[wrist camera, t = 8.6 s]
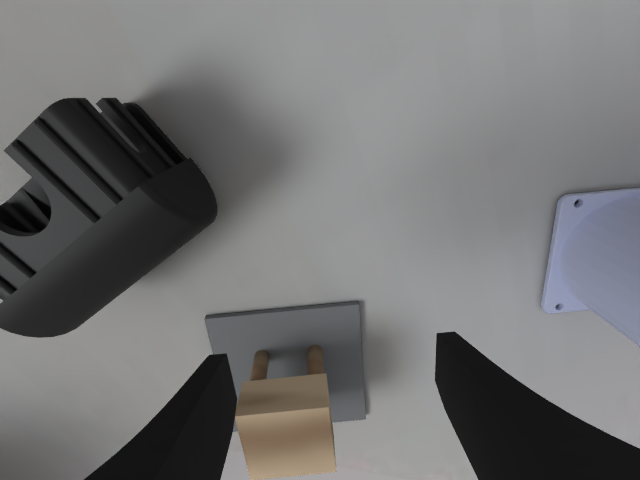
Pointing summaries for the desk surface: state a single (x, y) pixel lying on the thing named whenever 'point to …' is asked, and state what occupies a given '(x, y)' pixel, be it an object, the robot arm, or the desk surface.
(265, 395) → the stool
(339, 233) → the desk surface
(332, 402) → the mat
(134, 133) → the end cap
